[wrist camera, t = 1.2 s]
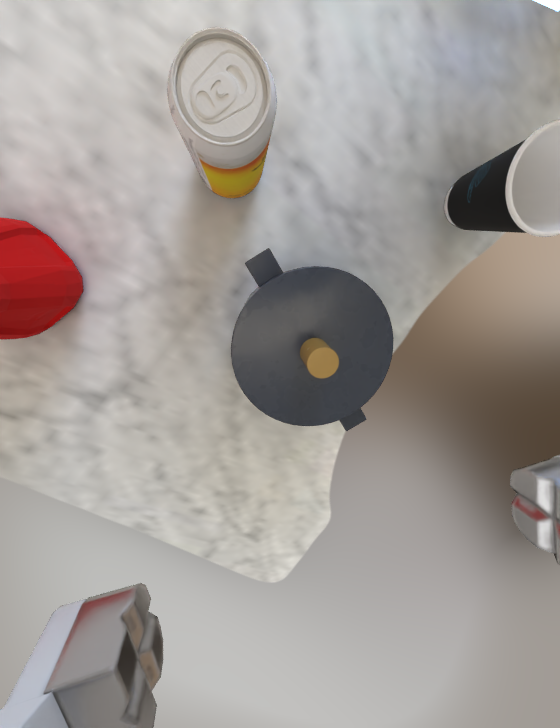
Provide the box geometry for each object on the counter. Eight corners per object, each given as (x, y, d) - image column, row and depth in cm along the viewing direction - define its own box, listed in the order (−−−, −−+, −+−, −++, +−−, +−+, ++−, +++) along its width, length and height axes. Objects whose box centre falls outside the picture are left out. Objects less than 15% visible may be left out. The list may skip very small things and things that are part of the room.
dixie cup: (429, 165, 34) (511, 124, 24) (503, 155, 35) (616, 110, 24) (429, 248, 37) (505, 243, 26) (499, 237, 37) (600, 229, 27)
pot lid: (344, 232, 29) (363, 227, 24) (412, 371, 33) (438, 388, 29) (198, 323, 30) (191, 334, 25) (283, 446, 34) (290, 474, 30)
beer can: (274, 174, 33) (300, 109, 19) (224, 212, 34) (211, 177, 19) (237, 112, 31) (233, -12, 17) (184, 154, 32) (137, 66, 17)
